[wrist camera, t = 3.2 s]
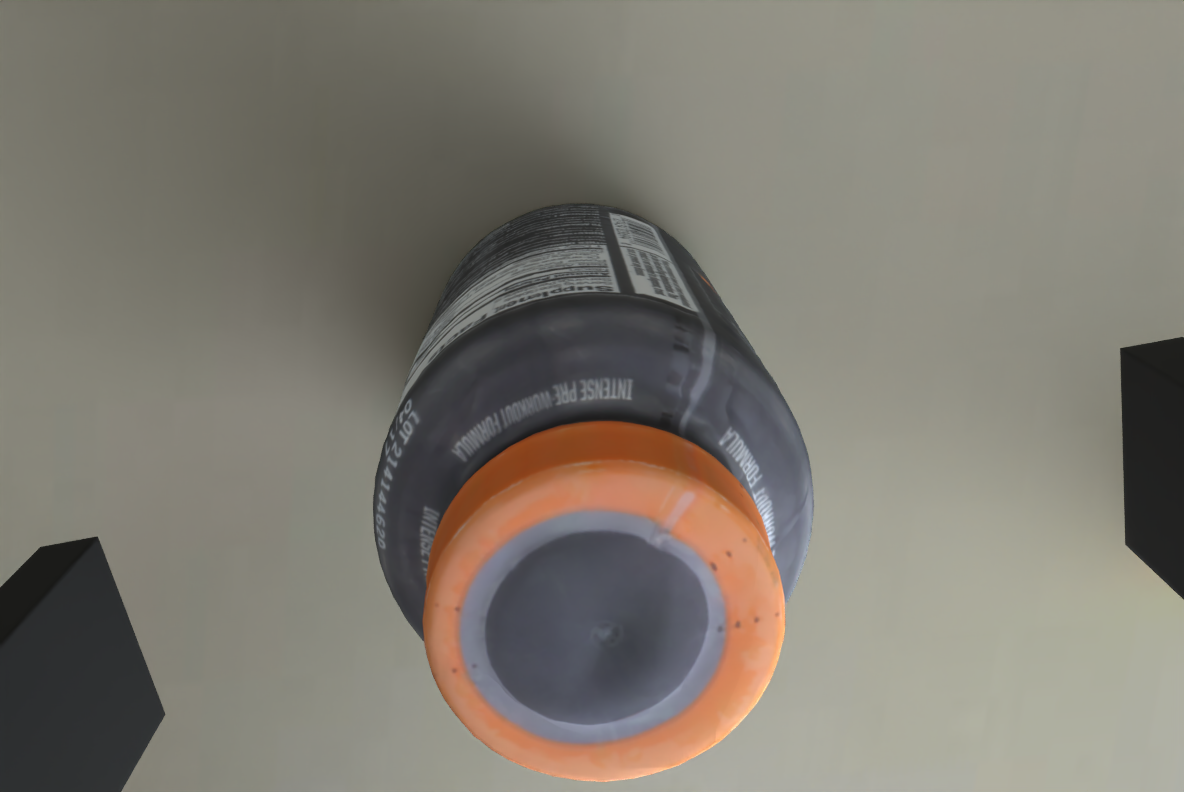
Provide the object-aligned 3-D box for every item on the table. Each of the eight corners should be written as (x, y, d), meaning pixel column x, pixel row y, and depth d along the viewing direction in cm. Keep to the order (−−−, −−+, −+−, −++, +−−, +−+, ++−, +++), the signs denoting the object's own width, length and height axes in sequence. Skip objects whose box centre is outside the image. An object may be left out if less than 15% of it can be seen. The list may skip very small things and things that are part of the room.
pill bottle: (707, 482, 23) (837, 874, 13) (431, 470, 23) (328, 860, 12) (737, 207, 21) (920, 394, 11) (436, 189, 21) (318, 364, 10)
